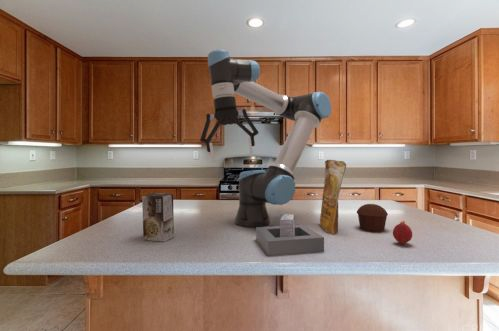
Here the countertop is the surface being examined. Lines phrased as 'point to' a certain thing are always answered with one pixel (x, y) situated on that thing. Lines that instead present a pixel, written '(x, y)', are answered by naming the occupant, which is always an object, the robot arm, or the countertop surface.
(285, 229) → the medicine box
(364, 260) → the countertop surface
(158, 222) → the coffee box
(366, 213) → the muffin
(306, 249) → the frame
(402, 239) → the red rounded lump
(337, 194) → the pancake mix bag
